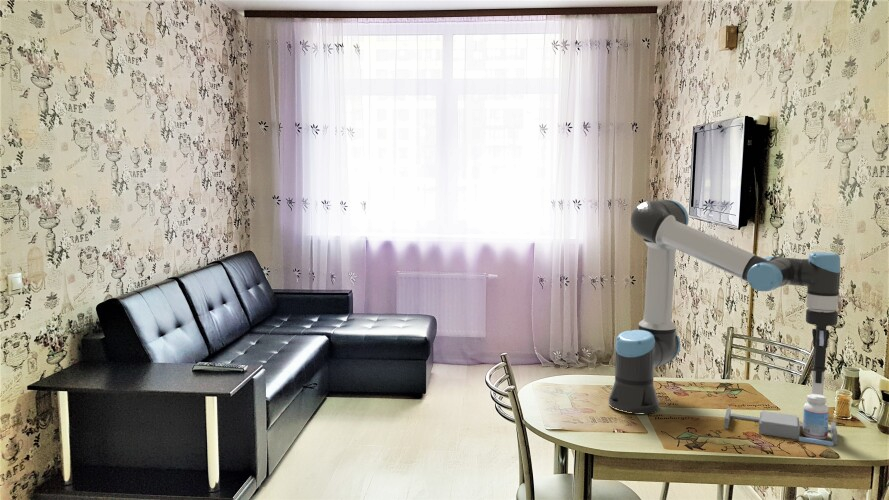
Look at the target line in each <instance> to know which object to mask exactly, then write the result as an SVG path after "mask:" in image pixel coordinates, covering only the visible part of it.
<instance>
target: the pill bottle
mask: <svg viewBox="0 0 889 500" xmlns="http://www.w3.org/2000/svg"><path fill="white" fill-rule="evenodd" d="M806 401H807V402H805V404H804V405H803V413H802V414H803V416H802V417H803V418H802V424H803V428H802V434H803V435H804V436H805V437H806V438H813V439H819V440H825V439H827V438H828V433H829V432H828V427H829V415H830V414H829V413H830V410H829V407H828V406H827V405H826V404H827V397H826V396H824V395H820V394H812V393H811V394H807V395H806Z"/></svg>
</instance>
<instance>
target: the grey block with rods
mask: <svg viewBox="0 0 889 500" xmlns="http://www.w3.org/2000/svg"><path fill="white" fill-rule="evenodd" d="M731 410H732V408H731V407H726V411H725V415H724V421H723V422H724V424H723V425H724V426H723V428H724V429H725V430H726V429H727V430H728V429H729V425H730V422H731V419H732V418H733V419H738V420H745V421H752V422H758V434H759V435H765V436H766V435H767V436H771V437H778V438H786V439H791V440H798V441H799V442H803V443H810V444H816V445H823V446H830V447H834V446H838V436H839V434H838V431H837V430H838V428H837V424H836V422H835V421H831V422H830V427H829V426H828V433H830V438H831V441H830V440H825V439H813V438H809V437H807V436H805V437H804V436H800V429H803V423H801V422H800V417H799V416H798V415H795V414H788V413H781V412H773V411H767V410H761V411H760V413H759V417H758V416H751V415H745V414H740V413H739V414H737V413H732V411H731Z"/></svg>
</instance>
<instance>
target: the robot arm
mask: <svg viewBox="0 0 889 500" xmlns="http://www.w3.org/2000/svg"><path fill="white" fill-rule="evenodd" d="M630 215H631V216H630V224H631V228H632V229H633V231H634V232H635V233H636V235H638V236H639V237H641V238H642V239H643V240H642V241H643V243H645V245H646V246H647V257H646V275H645V292H644V293H645V294H644V295H645V296H644V308H643V309H644V310H643V311H644V312H643V319H642V320H640V321H639V322H638V327H637V328H638V329H632V330H626V331H622V332H621V333H619V334H618V335H617V336H616V338H615V339H616V340H615V345H614V349H615V351H614V352H615V353H614V355H615V360H614V361H615V362H614V363H615V364H614V366H615V367H614V368H615V369H614V383H613V386H612V388H611V391H610V392H609V396H608V405H609V404H610V405H611V406H612V407H614V408H617V409H619V410H623V411H627V412H632V413H650V414H653V413H652V412H654V413H655V411H656V412H657V410H659V409H658V408H659V406H660V405H659V404H660V403H659V401H660V400H659V398H658V395H657V392H656V389H655V385H654V374H655V373H654V372H655V369H657V368H659V367H661V366H664V365H666V364H669V363H670V362H672V361H673V360H674V359H676V358H677V356H678V355H679V353H680V350H681V339H680V337H679V335H678V334H677V330H676V329H677V326H676V324H674V322H673V321H672V314H673V301H674V300H673V298H674V297H673V296H674V283H675V281H674V280H675V267H676V266H675V265H676V254H677V253H676V251H679V252H682V253H684V254H685V255H688V256H690V257H693V258H695V259H698V260H699V261H702V262H703V263H706V264H708V265H710V266H712V267H715V268H717V269H719V270H721V271H723V272H725V273H728V274H730V275H732V276H734V277H736V278H738V279H741V280H743V281H745V282H747V283H748V285H749V286H750V287H751V288H752V289H753V290H755V291H757V292H769V291H774V290H776V289H777V288H781V287H784V286H798V287H799V286H800V287H806V289H807V291H806V304H805V306H806V308H807V309H806V310H805V322H806V323H807V324H809V325H815V328H812V331H811V332H812V334H811V335H812V345H813V360H812V367H811V368H810V371H811V372H812V379H811V381H812V382H811V394H816V395H822V396H824V386H825V384H824V383H825V372H826V371H827V369H828V367H826V358H827V348H828V347H829V344H828V343H829V339H830V329H827V327H828V326H829V327H833V326H836V325H837V324H838V319H839V318H838V316H839V312H838V311H837V310H838V309H839V303H840V302H842V299H841V298H840V294H839V293H840V292H839V291H840V282H841V281H840V280H841V272H842V270H841V256H840V255H839V254H837V253H833V252H818V251H817V252H811V253H809V255H808V258H803V259H802V258H793V257H783V256H766V257H761V256H759V255H757V254H755V253H753V252H750V251H748V250H745V249H742V248H741V247H738V246H736V245H733V244H731V243H729V242H727V241H725V240H722V239H720V238H717V237H715V236H713V235H710V234H708V233H706V232H703V231H701V230H699V229H697V228H695V227H691V226H689V225H688V224H689V221H690V220H689V213H688V211H687V209H686V207H684V205H682V203H680V202H678V201H676V200H673V199H666V198H665V199H658V200H657V199H656V200H648V201H644V202H641V203H639V204H638V205H637V206H636V207H635V208H634V209H633V211H632V213H631V214H630Z"/></svg>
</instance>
